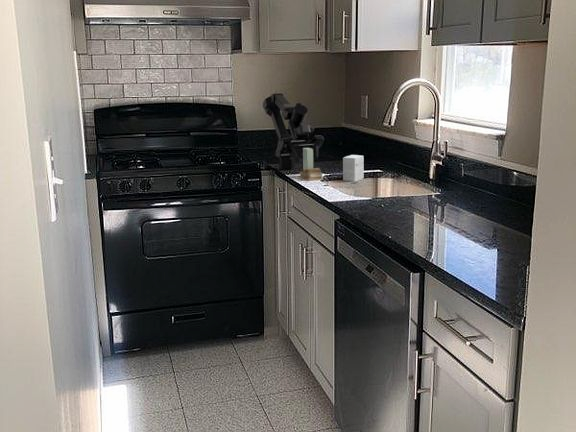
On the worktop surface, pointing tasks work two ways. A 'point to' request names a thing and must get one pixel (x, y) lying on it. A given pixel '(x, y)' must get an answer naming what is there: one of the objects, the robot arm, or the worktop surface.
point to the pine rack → (311, 174)
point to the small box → (353, 168)
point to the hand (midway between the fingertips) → (307, 158)
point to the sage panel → (307, 158)
